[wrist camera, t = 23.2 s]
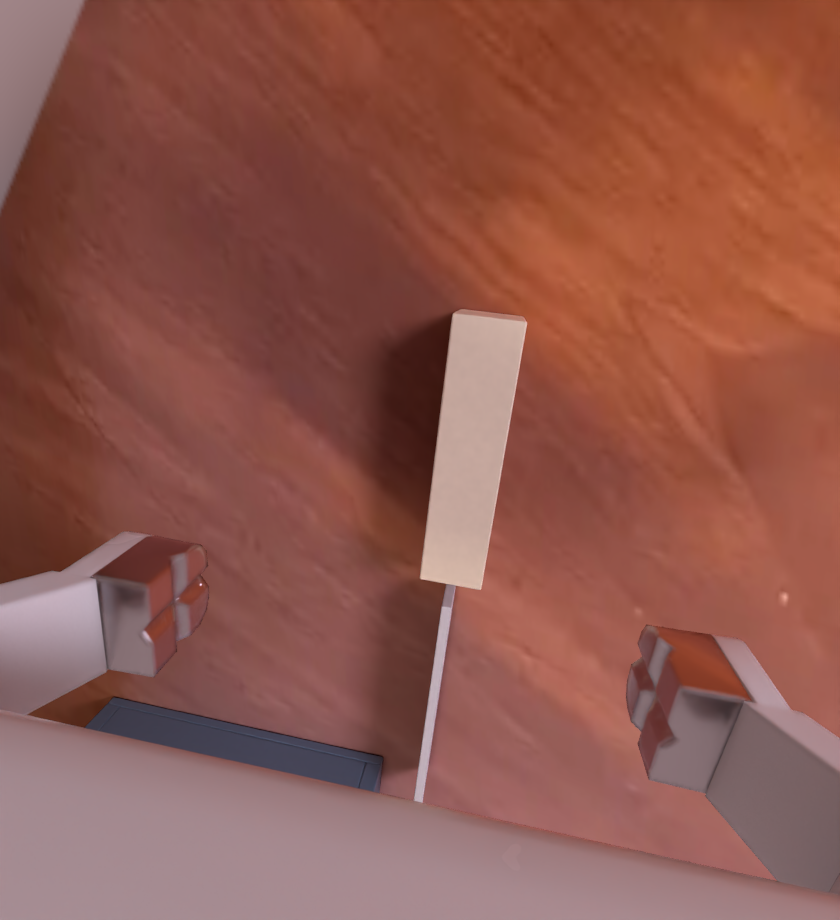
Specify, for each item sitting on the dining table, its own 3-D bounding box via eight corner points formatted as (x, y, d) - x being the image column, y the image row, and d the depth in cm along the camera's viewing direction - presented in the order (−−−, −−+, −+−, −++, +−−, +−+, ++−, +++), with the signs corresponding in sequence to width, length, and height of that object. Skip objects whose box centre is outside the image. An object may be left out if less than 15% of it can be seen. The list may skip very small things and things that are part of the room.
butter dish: (129, 827, 32) (93, 879, 30) (113, 696, 29) (71, 740, 26) (369, 888, 31) (355, 949, 28) (383, 756, 27) (368, 811, 24)
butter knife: (460, 308, 19) (452, 312, 16) (524, 316, 19) (527, 321, 16) (402, 760, 27) (389, 815, 24) (447, 771, 27) (440, 828, 24)
